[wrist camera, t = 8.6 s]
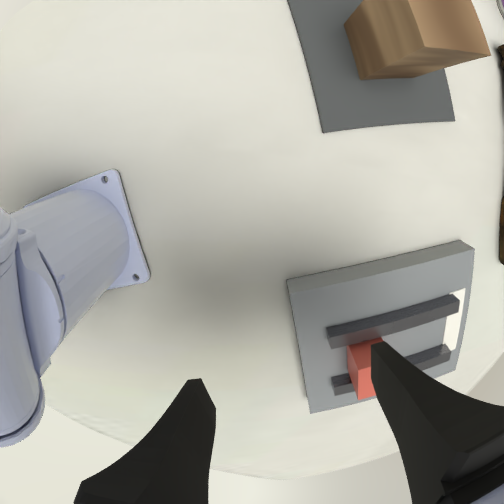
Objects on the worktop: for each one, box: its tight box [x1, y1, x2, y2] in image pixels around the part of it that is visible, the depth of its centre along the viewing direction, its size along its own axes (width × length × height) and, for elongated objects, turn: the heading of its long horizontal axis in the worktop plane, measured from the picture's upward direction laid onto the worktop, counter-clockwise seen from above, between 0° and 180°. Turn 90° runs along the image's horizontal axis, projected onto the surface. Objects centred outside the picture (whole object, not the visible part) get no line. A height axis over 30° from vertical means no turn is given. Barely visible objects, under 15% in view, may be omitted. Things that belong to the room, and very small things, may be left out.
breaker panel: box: [287, 240, 475, 414], centre depth 20 cm, size 14×12×3 cm
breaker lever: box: [347, 337, 383, 400], centre depth 18 cm, size 2×3×3 cm
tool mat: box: [288, 0, 455, 133], centre depth 15 cm, size 10×10×1 cm
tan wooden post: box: [344, 0, 491, 80], centre depth 11 cm, size 4×4×8 cm
